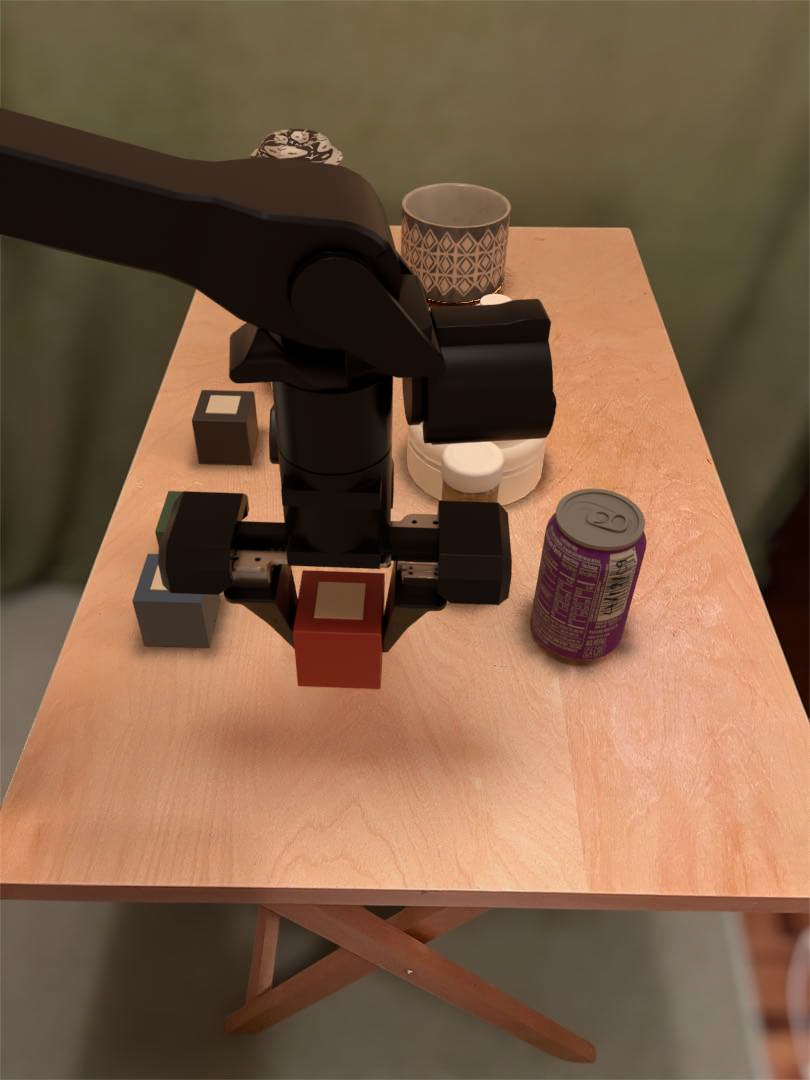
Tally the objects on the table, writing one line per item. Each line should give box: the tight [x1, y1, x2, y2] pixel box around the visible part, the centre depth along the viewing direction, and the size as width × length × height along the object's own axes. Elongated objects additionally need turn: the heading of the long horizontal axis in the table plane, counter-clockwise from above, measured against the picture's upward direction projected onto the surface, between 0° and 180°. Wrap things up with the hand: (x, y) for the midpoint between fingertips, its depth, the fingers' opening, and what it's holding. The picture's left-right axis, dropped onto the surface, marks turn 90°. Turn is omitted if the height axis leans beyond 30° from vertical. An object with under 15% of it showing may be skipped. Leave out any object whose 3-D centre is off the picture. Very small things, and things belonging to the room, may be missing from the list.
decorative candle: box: [250, 128, 344, 391], centre depth 88 cm, size 9×9×25 cm
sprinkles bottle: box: [441, 442, 504, 502], centre depth 70 cm, size 5×5×13 cm
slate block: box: [132, 553, 221, 649], centre depth 70 cm, size 5×5×5 cm
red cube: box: [293, 569, 386, 690], centre depth 55 cm, size 5×5×5 cm
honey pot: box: [406, 293, 548, 507], centre depth 81 cm, size 13×13×18 cm
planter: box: [400, 182, 512, 303], centre depth 109 cm, size 13×13×10 cm
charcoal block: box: [191, 389, 260, 466], centre depth 86 cm, size 5×5×5 cm
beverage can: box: [530, 488, 647, 661], centre depth 67 cm, size 7×7×12 cm
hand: (342, 645), depth 56 cm, fingers closed on red cube, 5 cm apart
